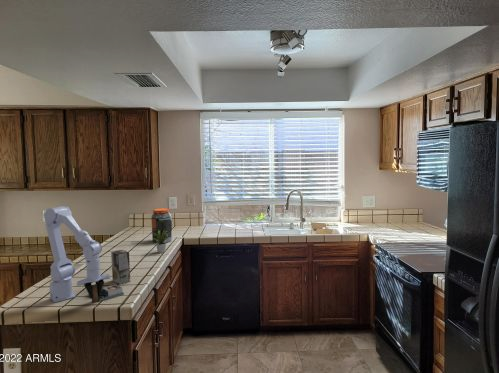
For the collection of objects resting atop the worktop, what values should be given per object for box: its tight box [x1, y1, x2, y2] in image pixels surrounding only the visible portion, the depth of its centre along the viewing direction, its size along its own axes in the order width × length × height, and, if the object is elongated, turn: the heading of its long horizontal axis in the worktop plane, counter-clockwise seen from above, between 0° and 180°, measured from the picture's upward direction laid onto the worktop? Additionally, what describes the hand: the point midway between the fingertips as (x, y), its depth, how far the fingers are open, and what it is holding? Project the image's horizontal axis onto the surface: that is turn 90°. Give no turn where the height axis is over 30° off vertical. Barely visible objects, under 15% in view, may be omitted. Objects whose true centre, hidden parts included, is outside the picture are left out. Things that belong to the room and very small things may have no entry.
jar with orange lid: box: [150, 208, 173, 244], centre depth 293 cm, size 16×16×26 cm
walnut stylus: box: [91, 283, 99, 303], centre depth 171 cm, size 3×3×8 cm
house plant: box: [151, 230, 173, 254], centre depth 258 cm, size 14×14×16 cm
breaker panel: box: [97, 283, 125, 302], centre depth 180 cm, size 12×13×3 cm
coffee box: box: [110, 249, 131, 285], centre depth 199 cm, size 9×6×16 cm
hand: (94, 297), depth 171 cm, fingers closed on walnut stylus, 3 cm apart
